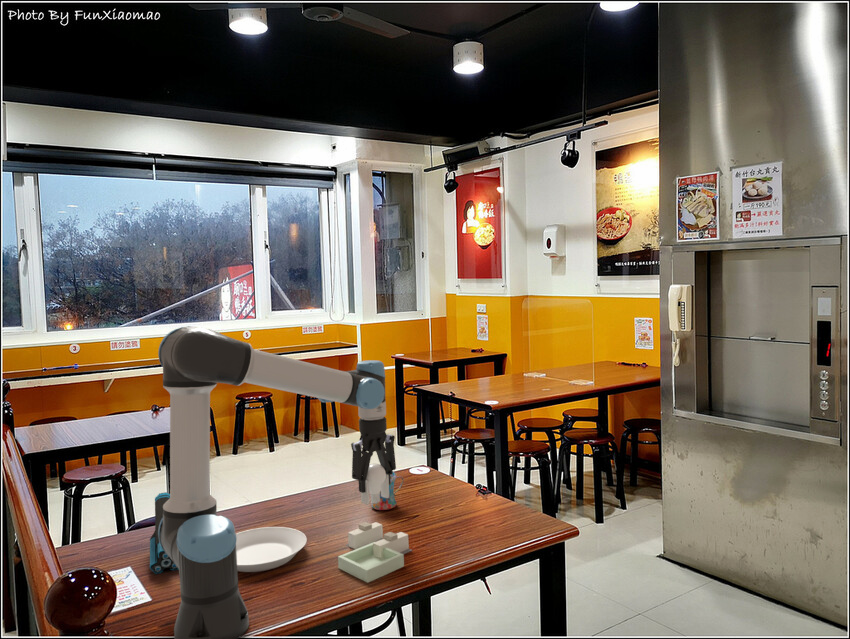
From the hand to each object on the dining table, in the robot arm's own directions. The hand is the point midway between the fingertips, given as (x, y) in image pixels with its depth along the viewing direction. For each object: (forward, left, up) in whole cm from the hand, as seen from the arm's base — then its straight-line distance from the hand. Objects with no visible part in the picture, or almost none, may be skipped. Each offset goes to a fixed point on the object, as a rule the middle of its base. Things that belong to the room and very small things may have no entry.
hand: (375, 500), depth 174 cm
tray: (-9, -8, -14) cm, 18 cm away
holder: (0, 0, -14) cm, 14 cm away
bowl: (-25, +20, -14) cm, 35 cm away
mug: (+23, +23, -14) cm, 35 cm away
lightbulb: (0, 0, -1) cm, 1 cm away
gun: (-42, +42, -14) cm, 61 cm away
